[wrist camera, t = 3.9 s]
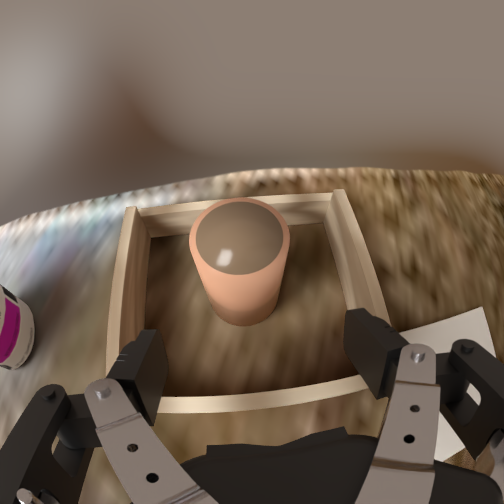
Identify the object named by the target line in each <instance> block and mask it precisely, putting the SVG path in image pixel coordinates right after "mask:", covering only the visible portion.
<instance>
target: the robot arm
mask: <svg viewBox="0 0 504 504" xmlns="http://www.w3.org/2000/svg"><path fill="white" fill-rule="evenodd" d="M343 345H344V350H345V353H346V355H347V356H348V358H349V359H350V361H351V362H352V364H353V365H354V367H355V368H356V370H357V371H358V373H359V374H360V375H361V377H362V378H363V380H364V381H365V383H366V384H367V386H368V387H369V389H370V390H371V392H372V393H373V395H374V396H375V398H376V399H380V398H384V397H388V398H389V400H388V403H387V407H386V410H385V414H384V417H383V421H382V424H381V427H380V430H379V433H378V436H377V438H376V437H372V436H366V435H348V434H347V432H346V430H345V428H344V426H343V427H339V428H335V429H331V430H327V431H322V432H318V433H313V434H310V435H308V436H305V437H303V438H300V439H298V440H295V441H292V442H290V443H287V444H284V445H281V446H262V445H250V444H228V445H207V453H206V455H202V456H199V457H195V458H192V459H190V460H188V461H185V462H184V463H182V464H180V465H179V464H178V463H177V461H176V460H175V459H174V458H173V456H172V455H171V454H170V453H169V452H168V450H167V449H166V448H165V446H164V445H163V444H162V443H161V441H160V440H159V439H158V437H157V436H156V435H155V433H154V432H153V431H152V429H151V428H150V426H154V423H155V419H156V415H157V411H158V407H159V404H160V400H161V396H162V393H163V389H164V386H165V382H166V379H167V375H168V359H167V356H166V352H165V348H164V344H163V340H162V336H161V333H160V331H159V329H150V330H141V332H140V333H139V335H138V337H137V339H136V340H135V341H131V342H129V343H128V344H127V345H126V346H124V347H123V349H122V350H121V352H120V354H119V355H118V357H117V359H116V361H115V362H114V364H113V366H112V368H111V369H110V371H109V373H108V374H107V376H106V378H104V379H99V380H96V381H94V382H92V383H90V384H89V385H88V386H87V387H86V389H85V392H84V394H76V395H67V393H66V391H65V389H64V388H63V387H62V386H60V385H57V384H50V385H47V386H44V387H42V388H41V389H39V390H38V391H37V392H36V394H35V395H34V397H33V398H32V400H31V401H30V403H29V404H28V406H27V407H26V409H25V410H24V412H23V413H22V415H21V416H20V418H19V420H18V421H17V423H16V424H15V426H14V428H13V429H12V431H11V433H10V434H9V436H8V438H7V439H6V441H5V443H4V445H3V446H2V448H1V450H0V504H78V501H79V497H80V494H81V490H82V486H83V483H84V479H85V476H86V473H87V469H88V466H89V463H90V460H91V457H92V454H93V451H94V447H103V449H104V451H105V453H106V455H107V457H108V459H109V461H110V463H111V465H112V467H113V469H114V471H115V473H116V474H117V476H118V478H119V480H120V482H121V483H122V485H123V487H124V489H125V490H126V492H127V494H128V495H129V497H130V499H131V500H132V502H131V503H130V504H503V501H504V364H503V363H501V362H500V361H499V360H498V359H497V358H495V357H494V356H493V355H492V354H491V353H489V352H488V351H487V350H486V349H485V348H483V347H482V346H481V345H480V344H478V343H477V342H475V341H473V340H470V339H459V340H456V341H455V342H453V344H452V347H451V351H450V352H446V353H437V354H436V353H435V351H434V350H433V349H432V348H431V347H429V346H427V345H424V344H418V343H415V344H410V343H409V342H408V341H407V340H406V339H405V338H404V337H403V336H401V335H400V334H399V333H398V332H397V331H395V329H394V328H393V327H391V325H389V324H388V323H387V322H386V321H385V320H383V319H381V318H379V317H376V316H372V315H371V314H370V313H369V312H368V311H367V310H366V309H365V308H357V309H351V310H347V311H346V314H345V326H344V339H343ZM470 383H471V384H472V385H473V386H474V387H475V388H476V389H477V390H478V392H479V393H480V396H481V401H480V404H479V405H478V404H477V403H476V402H475V401H474V400H473V398H472V397H471V396H470V395H469V394H468V393H467V390H468V387H469V385H470ZM439 411H440V413H441V414H442V415H443V417H444V418H445V419H446V421H447V422H448V423H449V425H450V426H451V428H452V429H453V430H454V432H455V433H456V435H457V436H458V437H459V439H460V440H461V442H462V443H463V444H464V446H465V447H466V449H467V450H468V452H469V453H470V454H471V456H472V457H473V459H474V460H475V470H476V471H473V470H469V469H465V468H462V467H458V466H455V465H451V464H448V463H445V462H441V461H438V460H435V459H434V455H435V448H436V441H437V432H438V422H439ZM56 435H57V436H58V438H59V442H58V444H57V446H56V448H55V451H54V453H53V455H52V451H51V447H52V443H53V441H54V439H55V437H56Z"/></svg>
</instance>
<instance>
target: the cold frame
mask: <svg viewBox="0 0 504 504" xmlns="http://www.w3.org/2000/svg"><path fill="white" fill-rule="evenodd" d="M246 198H251V199H256V200H259V201H262V202H264V203H267V204H268V205H270V206H272V207H273V208H274V209H276V210H277V211H278V212H279V213H280V214H281V215H282V217H283V218H284V220H285V221H286V223H287V225H299V224H313V223H323V224H324V227H325V230H326V233H327V237H328V240H329V243H330V247H331V250H332V253H333V257H334V260H335V264H336V267H337V271H338V275H339V278H340V282H341V286H342V290H343V293H344V297H345V301H346V305H347V309H348V310H351V309H357V308H365V309H366V310H367V311H368V312H369V313H370V314H371V315H372V316H376V317H379V318H381V319H383V320H385V321H386V322H387V323H388V324H389V325H391V323H390V319H389V316H388V312H387V309H386V305H385V302H384V298H383V295H382V292H381V288H380V285H379V282H378V279H377V276H376V273H375V270H374V267H373V264H372V261H371V258H370V255H369V252H368V249H367V247H366V244H365V241H364V238H363V236H362V233H361V230H360V228H359V225H358V223H357V220H356V218H355V215H354V213H353V210H352V208H351V205H350V203H349V200H348V198H347V196H346V193H345V191H344V189H336V190H334V191H333V193H313V194H292V195H274V196H259V197H246ZM222 200H226V199H222ZM222 200H211V201H201V202H191V203H182V204H173V205H165V206H157V207H149V208H141V209H137V207H136V206H132V207H126V210H125V215H124V219H123V224H122V229H121V234H120V239H119V245H118V250H117V256H116V263H115V269H114V276H113V283H112V291H111V300H110V310H109V321H108V335H107V354H106V376H107V374H108V373H109V371H110V369H111V368H112V366H113V364H114V362H115V361H116V359H117V357H118V355H119V354H120V352H121V350H122V349H123V347H124V346H126V345H127V344H128V343H129V342H131V341H135V340H136V339H137V337H138V335H139V333H140V332H141V330H144V323H145V301H146V285H147V273H148V261H149V251H150V242H151V238H153V237H162V236H172V235H182V234H190V232H191V228H192V226H193V224H194V222H195V220H196V219H197V218H198V216H199V215H200V214H201V213H202V212H203V211H204V210H205V209H207V208H208V207H210V206H211V205H213V204H215V203H217V202H219V201H222ZM367 388H369V387H368V386H367V384H366V383H365V381H364V380H363V378H362V377H361V375H356V376H352V377H348V378H344V379H339V380H335V381H330V382H325V383H320V384H314V385H309V386H303V387H297V388H290V389H284V390H276V391H268V392H260V393H250V394H239V395H225V396H206V397H161V400H160V404H159V407H158V411H157V412H158V413H212V412H231V411H244V410H254V409H264V408H272V407H279V406H286V405H293V404H299V403H305V402H310V401H316V400H321V399H326V398H330V397H335V396H339V395H344V394H348V393H352V392H356V391H360V390H363V389H367Z"/></svg>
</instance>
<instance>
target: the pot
mask: <svg viewBox="0 0 504 504" xmlns="http://www.w3.org/2000/svg"><path fill="white" fill-rule="evenodd" d="M289 244H290V233H289V229H288V226H287V223H286V221H285V220H284V218H283V217H282V215H281V214H280V213H279V212H278V211H277V210H276V209H274V208H273V207H272V206H270V205H268V204H267V203H264V202H262V201H259V200H256V199H251V198H230V199H226V200H222V201H219V202H217V203H215V204H213V205H211V206H210V207H208V208H207V209H205V210H204V211H203V212H202V213H201V214H200V215H199V216H198V218H197V219H196V220H195V222H194V224H193V226H192V228H191V232H190V237H189V245H190V250H191V253H192V256H193V259H194V261H195V264H196V267H197V269H198V272H199V275H200V277H201V280H202V282H203V285H204V288H205V290H206V293H207V295H208V298H209V300H210V303H211V305H212V308H213V310H214V311H215V313H216V314H217V315H218V316H219V317H220V318H221V319H222V320H224V321H226V322H227V323H230V324H232V325H236V326H251V325H255V324H257V323H260V322H261V321H263V320H265V319H266V318H267V317H268V316H269V315H270V314H271V313H272V311H273V310H274V308H275V306H276V303H277V299H278V295H279V290H280V286H281V281H282V277H283V272H284V268H285V263H286V258H287V254H288V249H289Z"/></svg>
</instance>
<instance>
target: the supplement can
mask: <svg viewBox="0 0 504 504" xmlns="http://www.w3.org/2000/svg"><path fill="white" fill-rule="evenodd" d="M34 333H35V328H34V321H33V314H32V312H31V310H30V308H29V306H28V305H27V304H25V303H24V302H23V301H22V300H20V299H19V298H18V297H16V296H15V295H13V294H12V293H11V292H9V291H8V290H7V289H6V288H4V287H3V286H2V285H0V366H1V367H3V368H6V369H9V370H12V369H16V368H18V367H19V366H21V365H22V364H23V363H24V362H25V360H26V359H27V358H28V356H29V354H30V352H31V350H32V346H33V343H34Z"/></svg>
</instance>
